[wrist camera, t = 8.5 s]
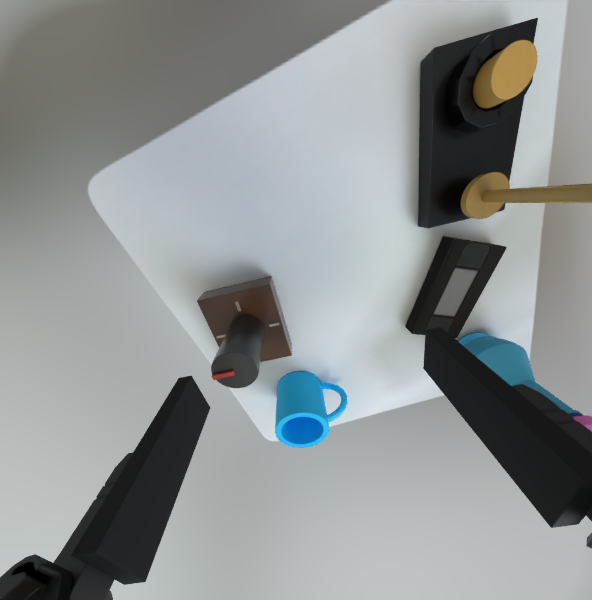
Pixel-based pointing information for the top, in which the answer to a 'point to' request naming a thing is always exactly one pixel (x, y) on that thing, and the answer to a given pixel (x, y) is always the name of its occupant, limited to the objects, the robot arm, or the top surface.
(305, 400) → the mug
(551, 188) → the lamp
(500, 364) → the perfume bottle
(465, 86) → the lamp base
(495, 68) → the switch
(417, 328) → the vhs tape
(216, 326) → the dimmer panel
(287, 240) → the top surface
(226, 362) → the dimmer
